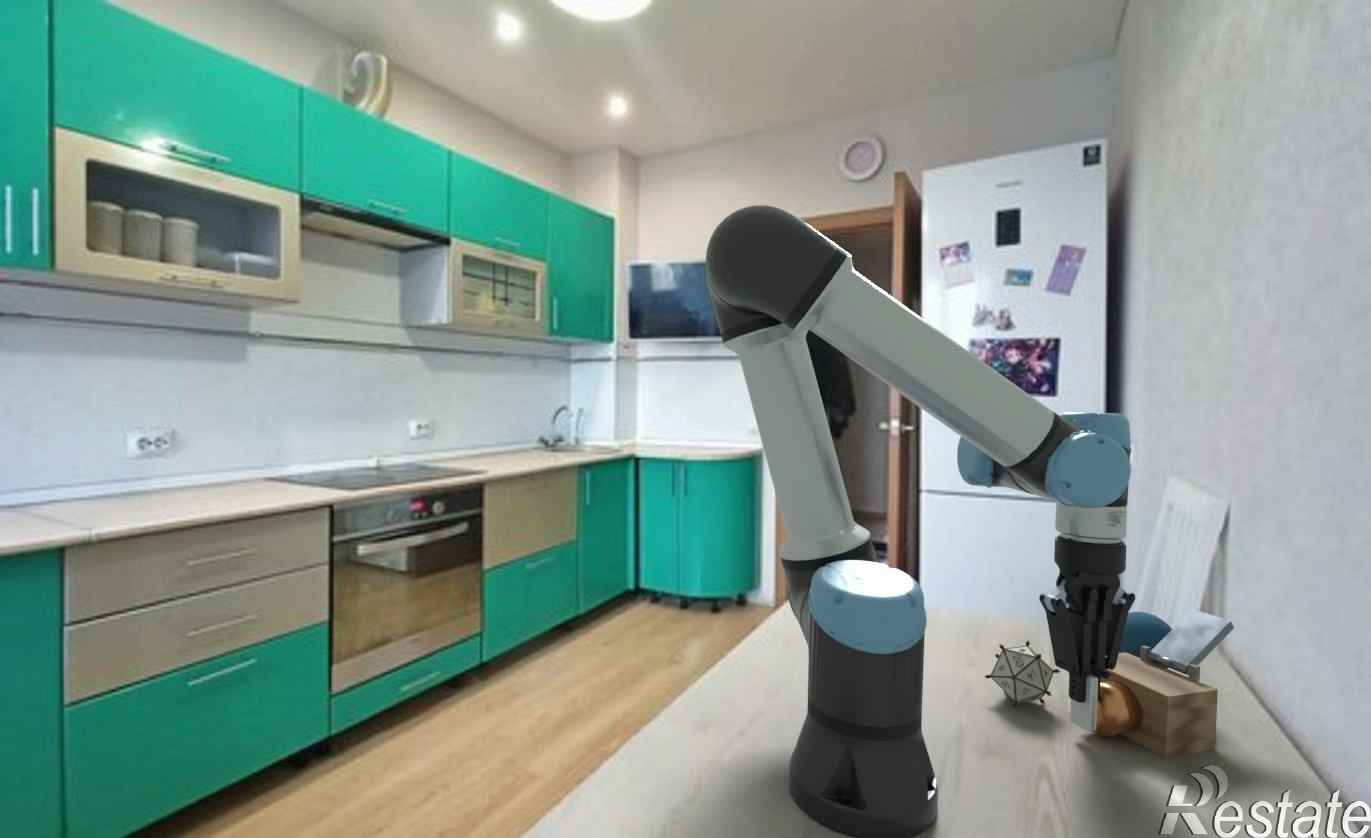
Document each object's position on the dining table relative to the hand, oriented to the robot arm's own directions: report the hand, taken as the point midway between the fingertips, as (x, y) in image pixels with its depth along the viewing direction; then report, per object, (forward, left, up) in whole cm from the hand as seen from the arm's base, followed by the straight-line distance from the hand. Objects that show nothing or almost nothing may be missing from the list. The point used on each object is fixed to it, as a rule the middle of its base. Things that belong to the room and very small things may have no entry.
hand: (1083, 725), depth 81 cm
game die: (+1, +10, -2) cm, 11 cm away
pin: (+10, 0, -1) cm, 10 cm away
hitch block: (+10, 0, -2) cm, 10 cm away
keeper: (+18, 0, +8) cm, 20 cm away
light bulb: (+19, +8, -2) cm, 21 cm away
